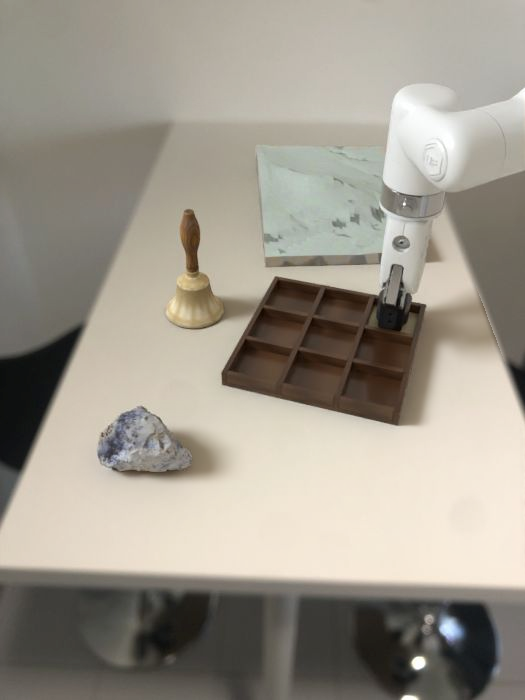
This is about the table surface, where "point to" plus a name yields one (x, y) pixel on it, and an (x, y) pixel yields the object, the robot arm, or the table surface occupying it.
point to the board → (325, 351)
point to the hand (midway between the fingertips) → (393, 315)
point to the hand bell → (193, 284)
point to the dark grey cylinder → (407, 303)
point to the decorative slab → (321, 204)
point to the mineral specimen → (141, 444)
